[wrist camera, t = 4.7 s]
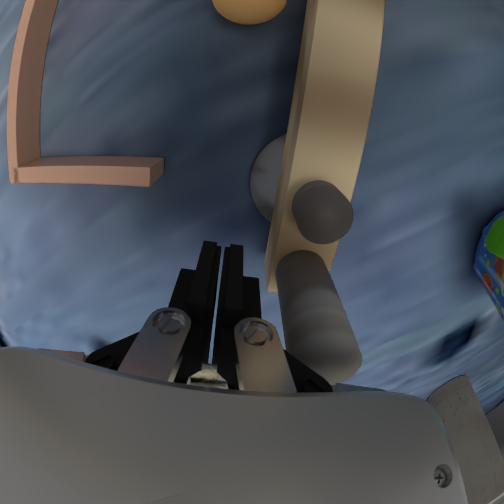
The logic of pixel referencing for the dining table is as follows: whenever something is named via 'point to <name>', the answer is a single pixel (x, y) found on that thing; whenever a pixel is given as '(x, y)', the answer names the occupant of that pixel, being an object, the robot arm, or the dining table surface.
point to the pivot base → (267, 176)
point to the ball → (249, 10)
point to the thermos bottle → (471, 441)
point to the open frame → (28, 119)
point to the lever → (323, 179)
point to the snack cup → (492, 261)
